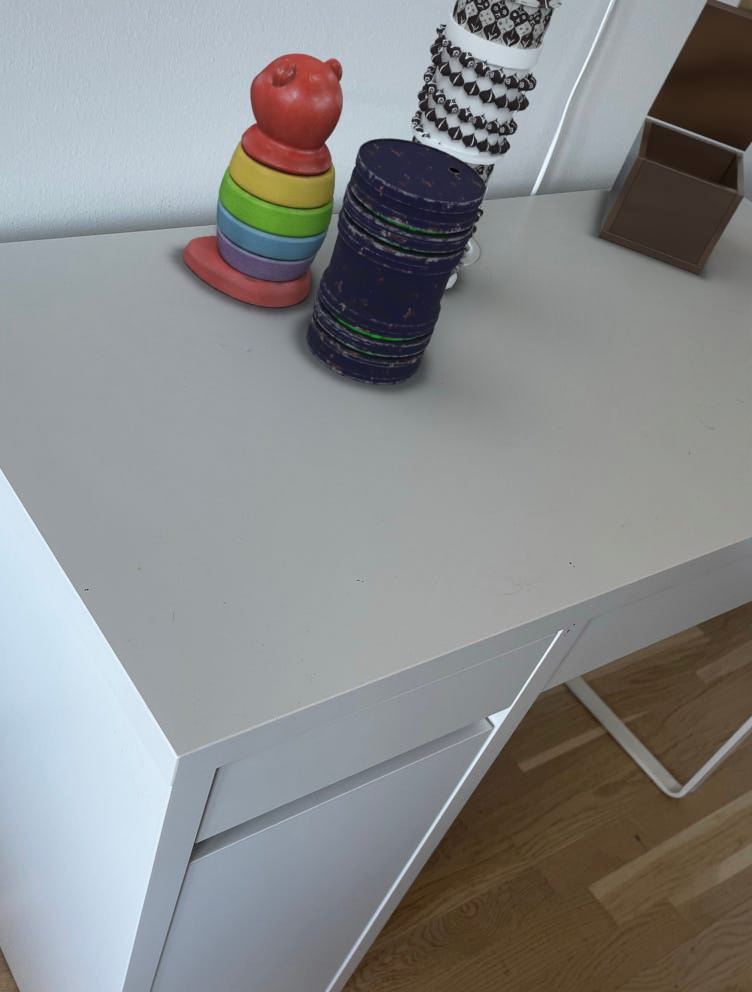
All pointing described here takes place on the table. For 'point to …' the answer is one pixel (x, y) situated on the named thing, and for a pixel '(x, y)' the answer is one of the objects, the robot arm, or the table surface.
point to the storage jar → (392, 259)
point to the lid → (712, 77)
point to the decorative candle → (480, 82)
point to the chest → (673, 196)
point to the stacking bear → (276, 187)
